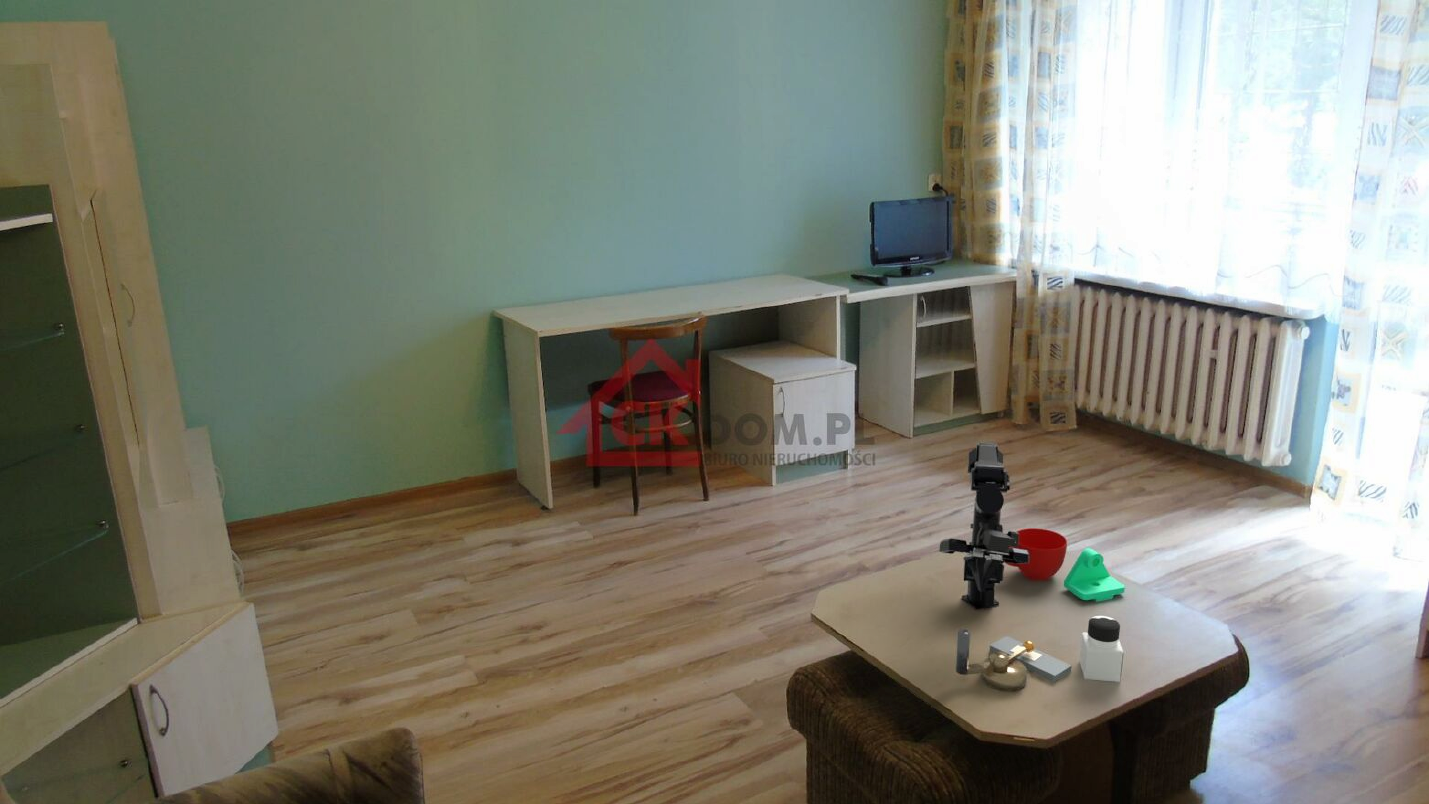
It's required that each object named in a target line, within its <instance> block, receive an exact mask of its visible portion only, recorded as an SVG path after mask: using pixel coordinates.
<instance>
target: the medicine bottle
mask: <svg viewBox="0 0 1429 804" xmlns="http://www.w3.org/2000/svg"><path fill="white" fill-rule="evenodd" d="M1087 627H1088V628H1087V632H1082V634H1081V641H1080V651H1079V665H1080V667H1081V671H1082V676H1083V679H1084V680H1091V681H1104V682H1113V683H1114V682H1115V683H1121V680H1122V671H1123V660H1124V655H1125V654H1124V649H1123V647H1122V644H1121V641H1120V631H1121V630H1120V629H1121V624H1120V623H1119V622H1118V621H1117V620H1116V619H1114V618H1112V617H1110V616H1107V615H1096V616H1093V617H1091V618H1090V619H1089V620H1088V626H1087Z"/></svg>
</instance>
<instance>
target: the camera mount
mask: <svg viewBox="0 0 1429 804" xmlns="http://www.w3.org/2000/svg"><path fill="white" fill-rule="evenodd" d="M1104 561H1105V560H1104V556H1103V555H1102V554H1101V553H1099V552H1097V551H1096V550H1094V549H1092V548H1088V547H1087V548H1085V549H1084V550H1082V552H1081V553H1080V555H1079V556H1078V558H1076V561H1075V562H1074V564H1073V566H1072V567H1071V569H1070V571H1068V574H1067V576H1066V577H1065V579H1064V580H1063V588H1065V589H1066V590H1068V591H1069V592H1071V593H1072V594H1073V595H1074V596H1076V597H1077V598H1079V599H1080V600H1083V601H1089V600H1093V601H1094V602H1096V603H1097V602H1103V601H1107V600H1112V599H1114V596H1115V595H1122V594H1124V593H1125V589H1126V586H1125V584H1123V583H1121V582H1120V581H1118V580H1117V579H1116V578H1114V577H1113V576H1111V575H1110V573H1109V571H1108V570H1107V568H1106V566H1105V563H1104Z"/></svg>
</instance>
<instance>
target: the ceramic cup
mask: <svg viewBox="0 0 1429 804" xmlns="http://www.w3.org/2000/svg"><path fill="white" fill-rule="evenodd" d="M1016 532H1017V533H1019V543H1018V547H1017V548H1016V549H1022V550H1027V552H1028V553H1029V556H1030V557H1029V563H1024V564H1013V563H1007V562H1004V563H1005V564H1006V565H1008V566H1010V567H1016V568H1018V570H1019V571H1020V572H1021V573H1022V574H1023V576H1024V577H1025V578H1027V579H1028V580H1032V581H1037V582H1045V581H1048V580H1050V579H1051V578H1052V577H1054V576H1055V575H1056V574H1057V573H1058V572H1059V571H1060V569H1061V568H1062V566H1063V564H1064V561H1065V558H1066V554H1067V550H1068V549H1067V547H1068V541H1067V539H1066V537H1065V536H1064V535H1062V534H1060V533H1058V532H1056V531H1053V530H1049V529H1046V528H1045V529H1044V528H1035V527H1033V528H1031V527H1030V528H1023V529H1019V530H1017V531H1016ZM1010 548H1013V547H1010Z"/></svg>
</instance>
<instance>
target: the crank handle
mask: <svg viewBox="0 0 1429 804" xmlns="http://www.w3.org/2000/svg"><path fill="white" fill-rule="evenodd" d="M970 640H971V632H970V631H969V630H967V629H959V630H958V631H957V641H956V643H957V646H956V662H955V663H956V664H955V672H956V673H957V674H958V675H962V676H968V675H979V674H980V678H981V680H982V681H983V682H984V683H985V684H986V685H987V686H988V687H990V688H993V689H996V690H1001V691H1010V692H1011V691H1017V690H1019V689H1022V688H1024V687H1025V686H1026V684H1027V679H1028V678H1027V677H1028V669H1027V668H1026V667H1025V665H1024V664H1022V663H1021V662H1020V661H1018V660H1015V659H1016V658H1017V657H1019V656H1020V655H1022V654H1024V653H1025V652H1028V653H1030V652H1032V651H1033V650H1034V649H1035V644H1034V643H1033V642H1032V641H1030V640H1027V641H1024V642H1023V647H1022V648H1021V649H1019V650H1018V651H1016V652H1015V653H1013V654H1011V655H1010V656H1008V654H1006V653H1004V652H1001V651H995V652H991V653H990V656H989V657H987V658H986V659H984V660H983V661H982V662H980V663H979V662H978V663H969V662H970V660H969V659H970V643H971V642H970Z"/></svg>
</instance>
